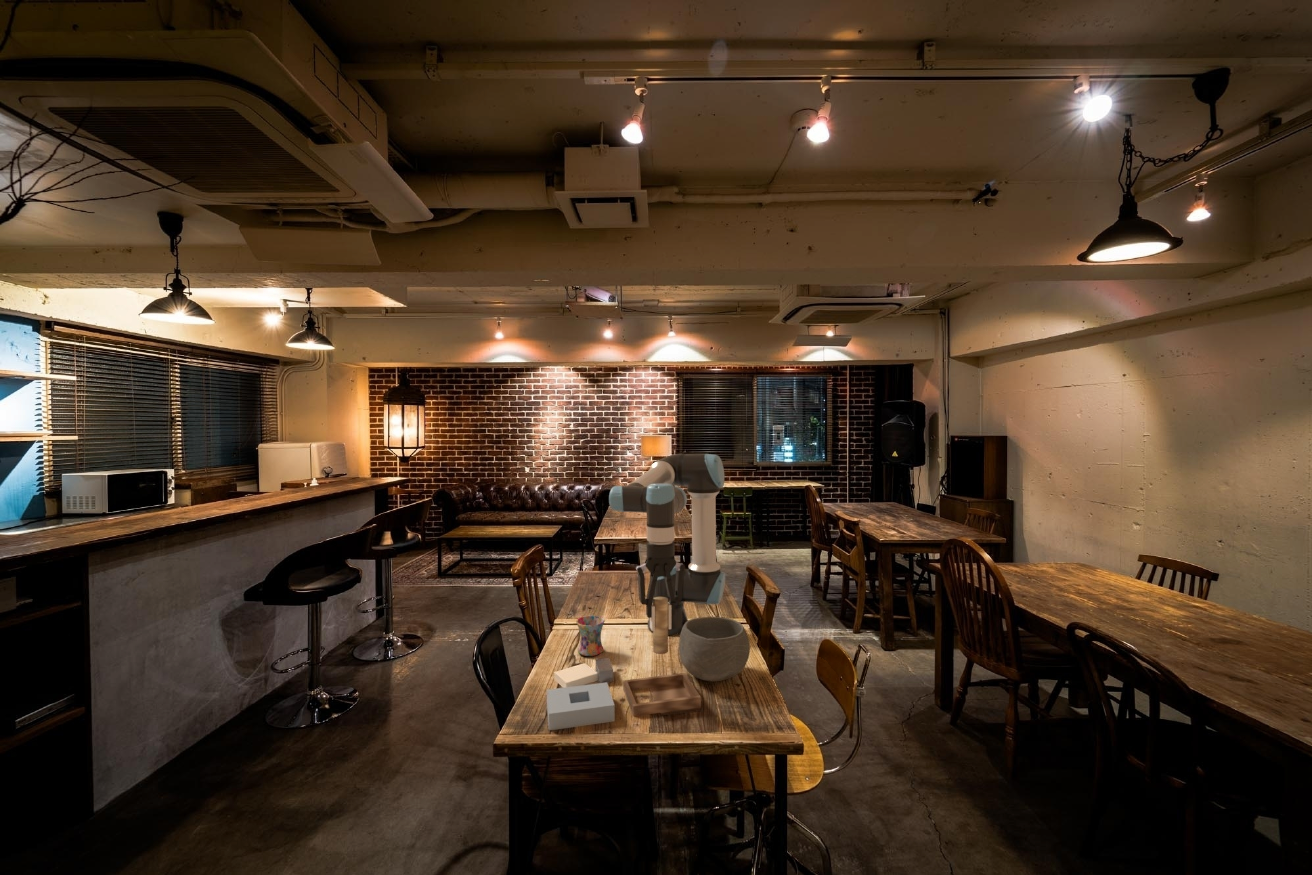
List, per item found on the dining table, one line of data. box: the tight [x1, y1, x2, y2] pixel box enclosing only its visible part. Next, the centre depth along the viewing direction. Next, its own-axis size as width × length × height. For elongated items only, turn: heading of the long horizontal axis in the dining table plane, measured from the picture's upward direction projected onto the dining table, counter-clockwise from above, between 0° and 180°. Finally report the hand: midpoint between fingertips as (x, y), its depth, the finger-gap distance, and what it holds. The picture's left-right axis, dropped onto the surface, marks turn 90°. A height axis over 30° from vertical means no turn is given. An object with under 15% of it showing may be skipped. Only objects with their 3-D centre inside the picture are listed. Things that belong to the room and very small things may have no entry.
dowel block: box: [546, 682, 616, 731], centre depth 133 cm, size 16×12×5 cm
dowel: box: [652, 597, 669, 655], centre depth 140 cm, size 4×4×14 cm
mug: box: [575, 615, 606, 657], centre depth 173 cm, size 12×9×11 cm
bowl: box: [678, 616, 751, 682], centre depth 155 cm, size 21×21×15 cm
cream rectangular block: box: [553, 662, 599, 688], centre depth 150 cm, size 10×8×4 cm
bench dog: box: [595, 657, 614, 684], centre depth 153 cm, size 4×8×4 cm, turn 14°
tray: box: [622, 672, 702, 717], centre depth 140 cm, size 18×14×4 cm
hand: (660, 627), depth 140 cm, fingers closed on dowel, 4 cm apart
